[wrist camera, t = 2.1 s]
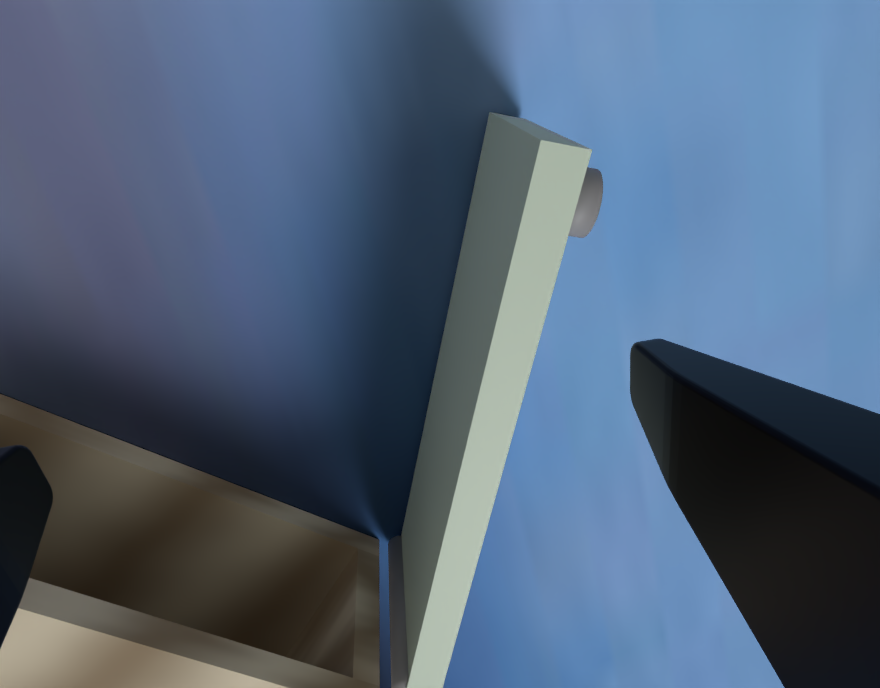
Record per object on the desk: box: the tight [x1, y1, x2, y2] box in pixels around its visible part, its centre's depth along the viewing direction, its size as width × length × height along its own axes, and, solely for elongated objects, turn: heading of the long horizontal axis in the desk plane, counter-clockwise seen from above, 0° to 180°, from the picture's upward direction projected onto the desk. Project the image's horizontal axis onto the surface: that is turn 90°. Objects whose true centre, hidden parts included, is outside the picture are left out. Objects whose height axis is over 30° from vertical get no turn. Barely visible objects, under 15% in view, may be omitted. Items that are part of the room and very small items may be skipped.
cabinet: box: [0, 394, 380, 688], centre depth 23 cm, size 17×11×8 cm, turn 59°
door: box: [388, 112, 603, 688], centre depth 21 cm, size 18×3×7 cm, turn 169°
